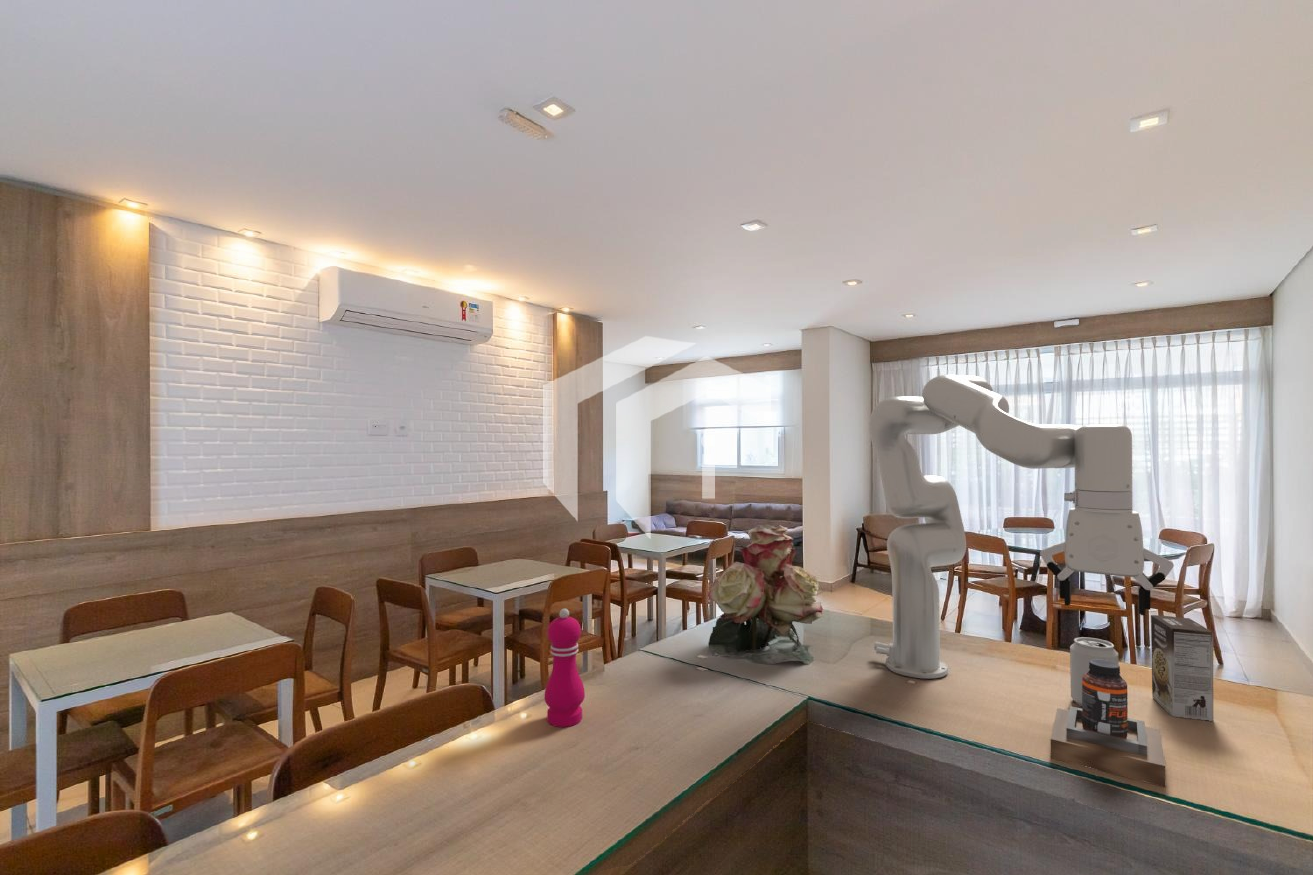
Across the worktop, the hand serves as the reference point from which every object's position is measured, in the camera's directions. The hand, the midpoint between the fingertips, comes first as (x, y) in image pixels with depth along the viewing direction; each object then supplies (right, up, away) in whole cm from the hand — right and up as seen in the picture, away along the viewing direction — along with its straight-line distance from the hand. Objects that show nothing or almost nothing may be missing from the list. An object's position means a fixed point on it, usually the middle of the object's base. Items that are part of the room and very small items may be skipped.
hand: (1103, 608), depth 99 cm
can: (+11, -23, +18) cm, 31 cm away
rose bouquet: (-44, -24, +51) cm, 72 cm away
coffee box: (+26, -23, +16) cm, 38 cm away
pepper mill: (-88, -24, +13) cm, 92 cm away
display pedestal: (0, -23, 0) cm, 23 cm away
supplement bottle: (0, -20, 0) cm, 20 cm away
